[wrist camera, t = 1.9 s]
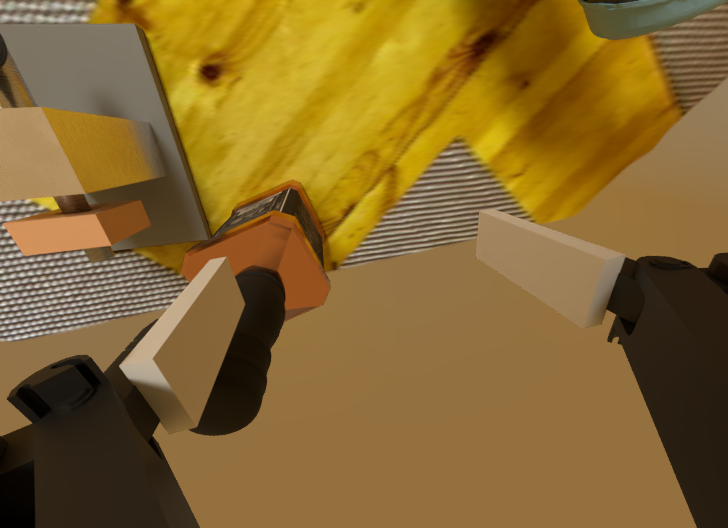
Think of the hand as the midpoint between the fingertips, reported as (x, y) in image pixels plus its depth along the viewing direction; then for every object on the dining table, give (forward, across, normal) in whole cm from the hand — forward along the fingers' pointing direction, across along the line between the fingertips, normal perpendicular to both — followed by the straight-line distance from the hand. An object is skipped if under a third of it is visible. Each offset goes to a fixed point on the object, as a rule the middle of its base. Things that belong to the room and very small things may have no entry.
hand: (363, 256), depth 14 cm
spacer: (+22, -25, +1) cm, 33 cm away
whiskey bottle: (+29, -8, -4) cm, 30 cm away
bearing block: (+27, -25, +8) cm, 37 cm away
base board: (+28, -25, +8) cm, 38 cm away
